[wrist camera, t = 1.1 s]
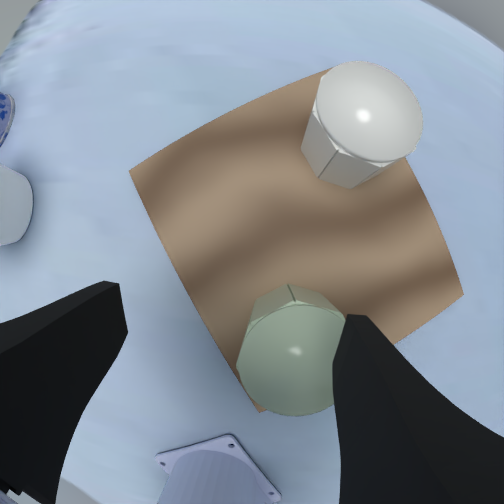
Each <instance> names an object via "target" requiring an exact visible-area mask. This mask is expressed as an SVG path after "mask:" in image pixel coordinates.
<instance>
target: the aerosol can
mask: <svg viewBox="0 0 504 504" xmlns="http://www.w3.org/2000/svg"><path fill="white" fill-rule="evenodd" d="M14 111H15V103H14V99H13V98H12V97H11V96H10V95H6V94H3V93H1V92H0V147H1V145H2V143H3V142H4V140H5V138H6V136H7V134H8V132H9V129H10V127H11V124H12V121H13V117H14Z"/></svg>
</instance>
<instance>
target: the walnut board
mask: <svg viewBox="0 0 504 504" xmlns="http://www.w3.org/2000/svg"><path fill="white" fill-rule="evenodd" d="M333 68H334V67H333ZM331 69H332V68H330V69H327V70H325V71H322V72H319V73H316V74H314V75H311V76H309V77H306V78H303V79H301V80H298V81H296V82H294V83H291V84H289V85H286V86H284V87H282V88H279V89H277V90H275V91H272V92H270V93H268V94H266V95H263V96H261V97H259V98H257V99H255V100H253V101H250V102H248V103H246V104H244V105H242V106H240V107H238V108H236V109H234V110H232V111H230V112H228V113H226V114H224V115H222V116H220V117H218V118H216V119H214V120H213V121H211V122H209V123H207V124H205V125H203V126H201V127H200V128H198V129H196V130H194V131H193V132H191V133H189V134H187V135H185V136H184V137H182V138H180V139H179V140H177V141H175V142H174V143H172V144H170V145H169V146H167V147H165V148H164V149H162V150H160V151H159V152H157V153H155V154H154V155H152V156H151V157H149V158H148V159H146V160H144V161H143V162H141V163H140V164H138V165H137V166H135V167H134V168H132V169H131V170H129V173H130V176H131V178H132V180H133V182H134V185H135V187H136V189H137V191H138V194H139V196H140V198H141V200H142V202H143V205H144V207H145V209H146V211H147V213H148V215H149V217H150V220H151V222H152V224H153V226H154V228H155V230H156V232H157V234H158V236H159V238H160V240H161V242H162V244H163V246H164V248H165V250H166V252H167V254H168V256H169V258H170V260H171V262H172V264H173V266H174V268H175V270H176V272H177V274H178V276H179V278H180V280H181V282H182V283H183V285H184V287H185V289H186V291H187V293H188V295H189V296H190V298H191V300H192V302H193V304H194V306H195V307H196V309H197V311H198V313H199V315H200V316H201V318H202V320H203V322H204V324H205V325H206V327H207V329H208V331H209V332H210V334H211V336H212V337H213V339H214V341H215V343H216V344H217V346H218V348H219V349H220V351H221V353H222V354H223V356H224V358H225V359H226V361H227V363H228V364H229V366H230V368H231V369H232V371H233V373H234V374H235V376H236V377H237V379H238V381H239V382H240V384H241V385H242V387H243V389H244V390H245V388H244V386H243V384H242V381H241V379H240V374H239V372H238V370H237V368H236V363H237V360H238V356H239V353H240V349H241V346H242V342H243V338H244V335H245V331H246V328H247V325H248V322H249V319H250V315H251V312H252V309H253V306H254V303H255V300H256V299H257V298H259V297H261V296H263V295H265V294H267V293H269V292H271V291H273V290H275V289H277V288H278V287H280V286H282V285H284V284H287V285H288V283H289V284H292V285H296V286H299V287H302V288H306V289H309V290H313V291H316V292H319V293H321V294H322V295H323V296H324V297H325V298H326V299H327V300H328V301H329V302H330V303H331V304H332V305H333V306H335V307H336V308H337V309H338V310H339V311H340V312H341V313H342V314H343V316H344V318H345V320H346V317H347V314H355V315H367V316H368V317H369V318H370V319H371V321H372V322H373V323H374V324H375V325H376V326H377V327H378V328H379V329H380V331H381V332H382V333H383V334H384V335H385V336H386V337H387V339H388V340H389V341H390V342H391V343H392V344H393V345H394V344H395V343H397V342H398V341H400V340H401V339H403V338H404V337H406V336H407V335H409V334H410V333H412V332H413V331H415V330H416V329H418V328H419V327H421V326H422V325H424V324H425V323H427V322H428V321H429V320H431V319H432V318H434V317H435V316H436V315H438V314H439V313H440V312H442V311H443V310H444V309H446V308H447V307H448V306H450V305H451V304H452V303H454V302H455V301H456V300H458V299H459V298H460V297H461V296H463V295H464V293H463V290H462V287H461V284H460V281H459V278H458V275H457V272H456V269H455V266H454V263H453V261H452V258H451V255H450V252H449V250H448V247H447V245H446V242H445V240H444V237H443V235H442V232H441V230H440V228H439V225H438V223H437V221H436V218H435V216H434V214H433V212H432V209H431V207H430V205H429V203H428V201H427V199H426V197H425V195H424V192H423V190H422V188H421V186H420V184H419V182H418V181H417V179H416V177H415V175H414V173H413V171H412V169H411V167H410V165H409V164H408V162H407V160H406V158H403V159H402V160H400V161H398V162H397V163H395V164H394V165H392V166H391V167H389V168H388V169H386V170H385V171H383V172H382V173H380V174H378V175H377V176H375V177H373V178H371V179H369V180H367V181H366V182H364V183H362V184H360V185H358V186H356V187H354V188H352V189H347V188H344V187H341V186H338V185H336V184H333V183H330V182H327V181H323V180H320V179H319V177H318V178H317V177H316V175H315V173H314V171H313V170H312V168H311V166H310V165H309V163H308V161H307V159H306V158H305V156H304V154H303V153H302V151H301V145H302V141H303V138H304V134H305V131H306V127H307V124H308V120H309V117H310V113H311V110H312V107H313V103H314V100H315V97H316V94H317V90H318V87H319V83H320V80H321V77H322V76H323V75H325V74H326V73H327V72H328V71H330V70H331ZM245 392H246V390H245ZM246 393H247V392H246ZM247 395H248V396H249V394H248V393H247ZM249 398H250V400H251V401H252V403H253V404H254V406H255V407H256V409H257V410H258V412H259V413H260V412H263V411H265V410H267V409H265V408H263V407H262V406H260V405H259V404H258V403H256V402H255V401H254V400H253V399H252V398H251V397H250V396H249Z"/></svg>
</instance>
